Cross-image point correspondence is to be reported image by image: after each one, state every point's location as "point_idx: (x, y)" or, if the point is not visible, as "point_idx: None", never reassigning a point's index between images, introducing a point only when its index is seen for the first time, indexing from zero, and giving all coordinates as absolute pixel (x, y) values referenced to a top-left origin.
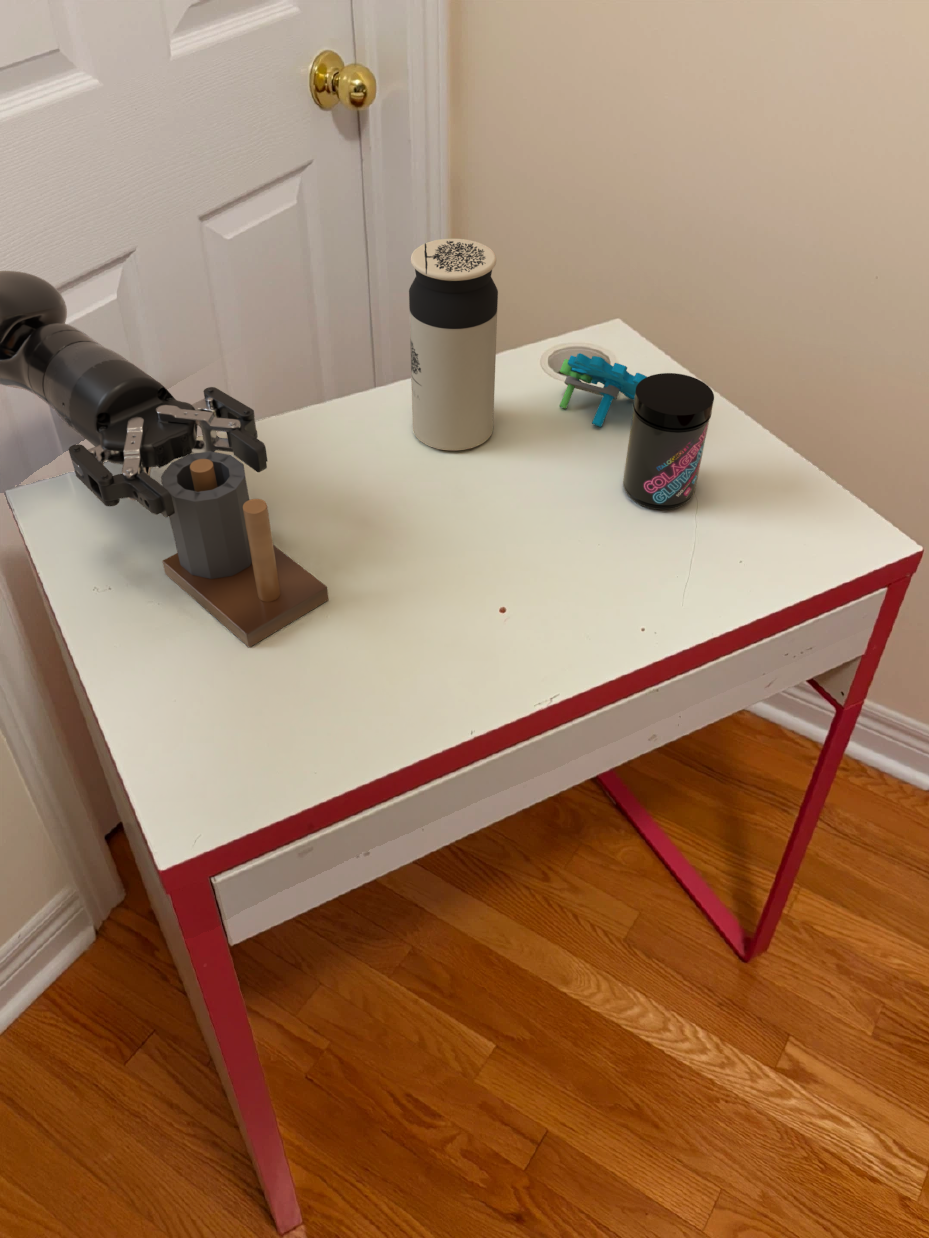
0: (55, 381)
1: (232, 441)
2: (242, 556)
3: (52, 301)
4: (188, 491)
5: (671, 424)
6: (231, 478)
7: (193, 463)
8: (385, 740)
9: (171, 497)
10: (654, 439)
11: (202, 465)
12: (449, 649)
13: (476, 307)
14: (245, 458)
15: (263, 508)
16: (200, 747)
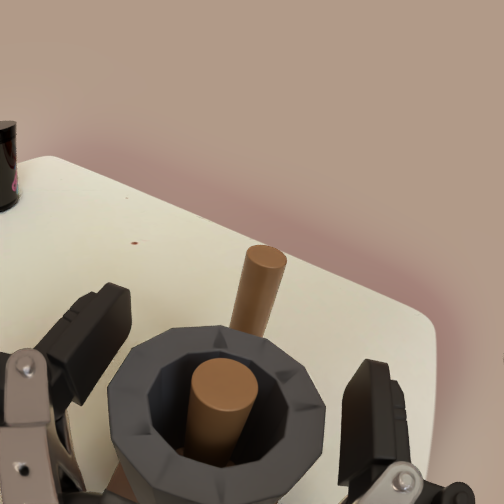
0: None
1: (75, 375)
2: None
3: None
4: (289, 396)
5: (15, 131)
6: (194, 345)
7: (230, 404)
8: (290, 268)
9: (363, 361)
10: (11, 148)
11: (224, 379)
12: (191, 259)
13: None
14: (105, 356)
15: (264, 245)
16: (388, 349)
